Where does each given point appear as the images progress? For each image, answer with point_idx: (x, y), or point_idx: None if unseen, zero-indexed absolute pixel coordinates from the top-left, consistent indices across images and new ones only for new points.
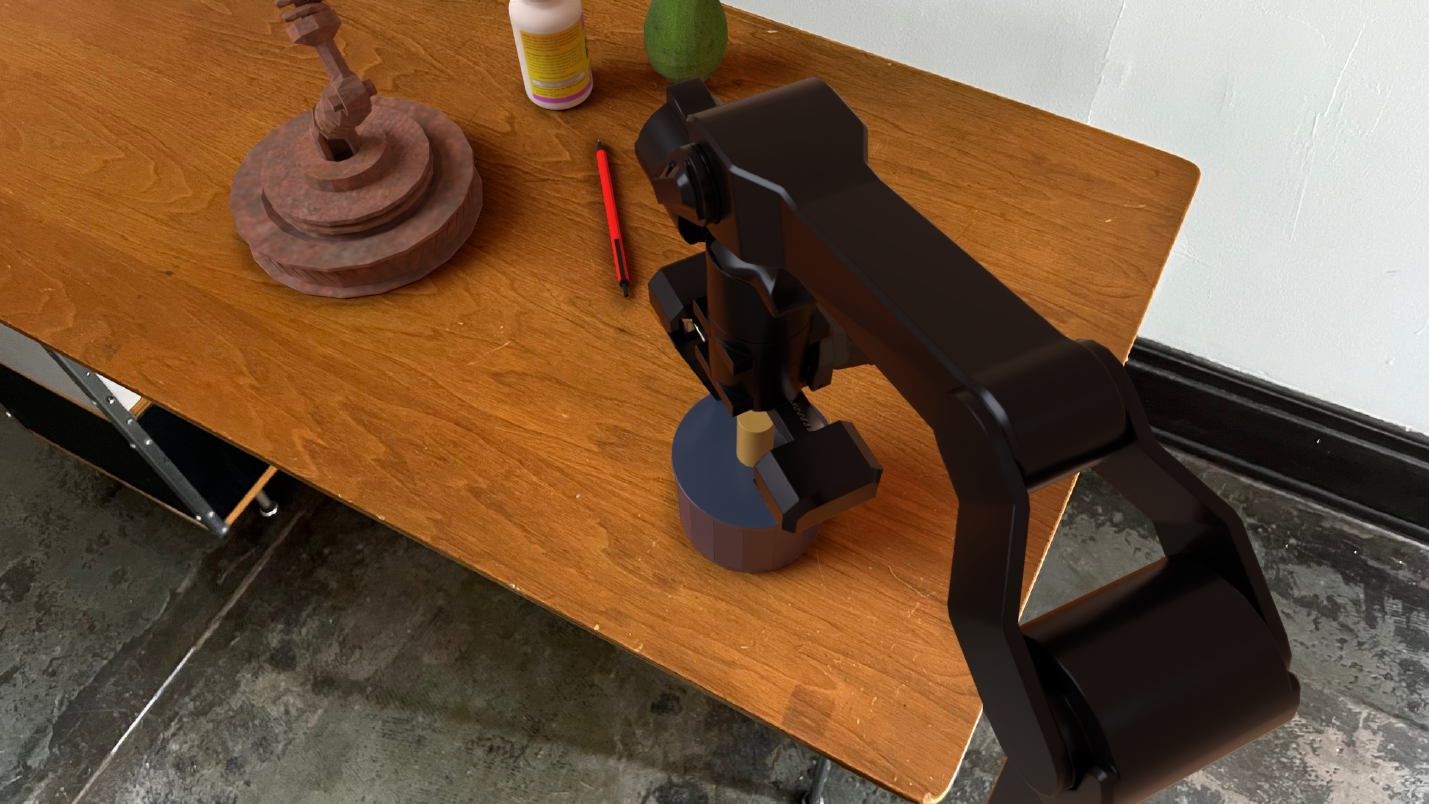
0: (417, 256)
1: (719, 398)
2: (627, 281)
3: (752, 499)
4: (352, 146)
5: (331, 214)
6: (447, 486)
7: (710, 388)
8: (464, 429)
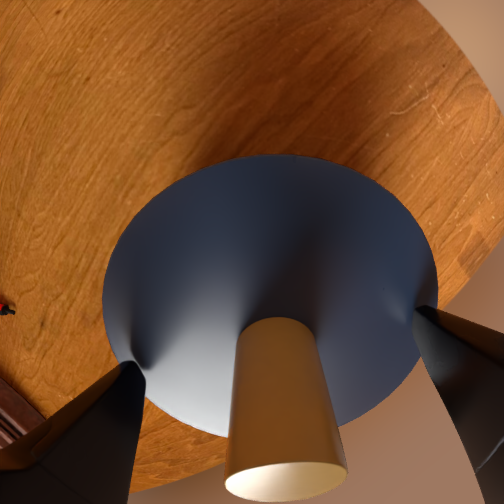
0: (29, 419)
1: (143, 383)
2: (2, 309)
3: (372, 366)
4: None
5: None
6: (191, 450)
7: (136, 428)
8: (145, 436)
